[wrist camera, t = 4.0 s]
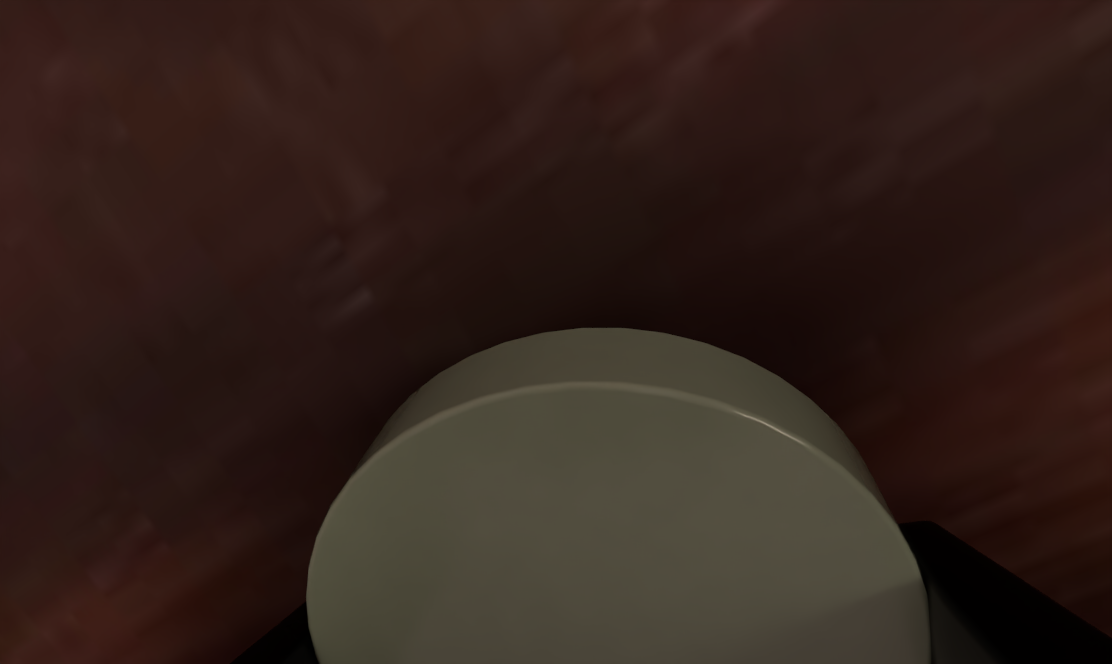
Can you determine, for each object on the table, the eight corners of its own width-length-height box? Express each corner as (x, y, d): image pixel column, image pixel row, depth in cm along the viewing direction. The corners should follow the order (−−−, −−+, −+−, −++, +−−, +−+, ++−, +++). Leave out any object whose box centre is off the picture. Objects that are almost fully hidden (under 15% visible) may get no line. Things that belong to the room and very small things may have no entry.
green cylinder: (845, 247, 8) (917, 322, 6) (886, 687, 10) (947, 847, 8) (301, 352, 9) (204, 444, 7) (453, 718, 11) (413, 863, 9)
